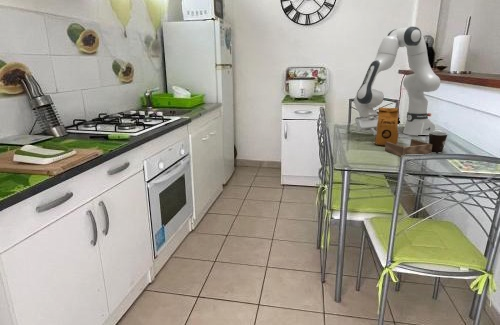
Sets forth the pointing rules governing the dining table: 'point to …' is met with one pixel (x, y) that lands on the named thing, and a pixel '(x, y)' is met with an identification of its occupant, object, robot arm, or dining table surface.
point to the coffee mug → (437, 141)
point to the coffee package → (387, 126)
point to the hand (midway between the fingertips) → (376, 134)
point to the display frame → (409, 148)
